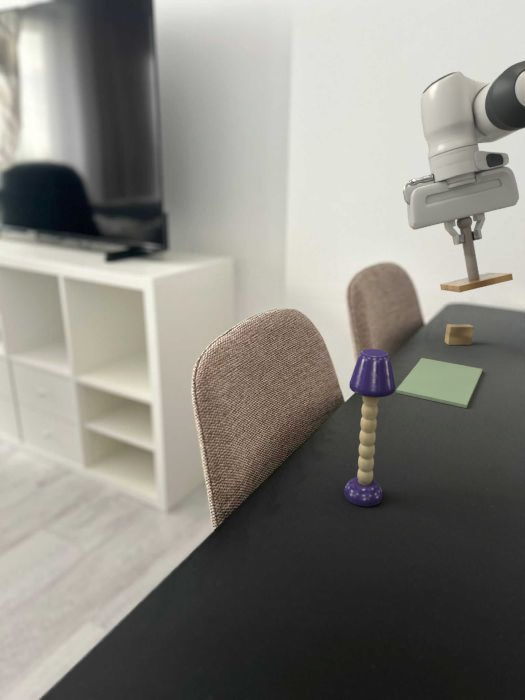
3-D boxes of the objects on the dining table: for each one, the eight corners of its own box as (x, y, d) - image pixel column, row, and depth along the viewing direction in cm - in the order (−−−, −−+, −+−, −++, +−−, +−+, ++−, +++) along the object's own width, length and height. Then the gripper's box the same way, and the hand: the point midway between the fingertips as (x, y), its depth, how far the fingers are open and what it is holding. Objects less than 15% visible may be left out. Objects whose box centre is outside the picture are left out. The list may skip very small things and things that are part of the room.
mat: (421, 360, 99) (421, 357, 98) (482, 372, 94) (482, 369, 93) (395, 392, 84) (396, 389, 84) (466, 408, 79) (467, 404, 79)
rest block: (466, 342, 110) (469, 324, 109) (470, 345, 109) (473, 326, 107) (444, 342, 110) (446, 324, 109) (448, 345, 108) (450, 326, 107)
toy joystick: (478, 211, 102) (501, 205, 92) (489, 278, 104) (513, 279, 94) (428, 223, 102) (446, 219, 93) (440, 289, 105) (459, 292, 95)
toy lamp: (332, 492, 57) (342, 351, 52) (356, 476, 60) (369, 342, 55) (368, 512, 54) (383, 364, 48) (392, 494, 57) (409, 353, 52)
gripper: (406, 179, 93) (420, 254, 95) (516, 151, 92) (528, 228, 95) (396, 184, 99) (409, 255, 101) (500, 159, 99) (511, 230, 101)
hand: (468, 242), depth 98 cm, fingers closed on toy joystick
